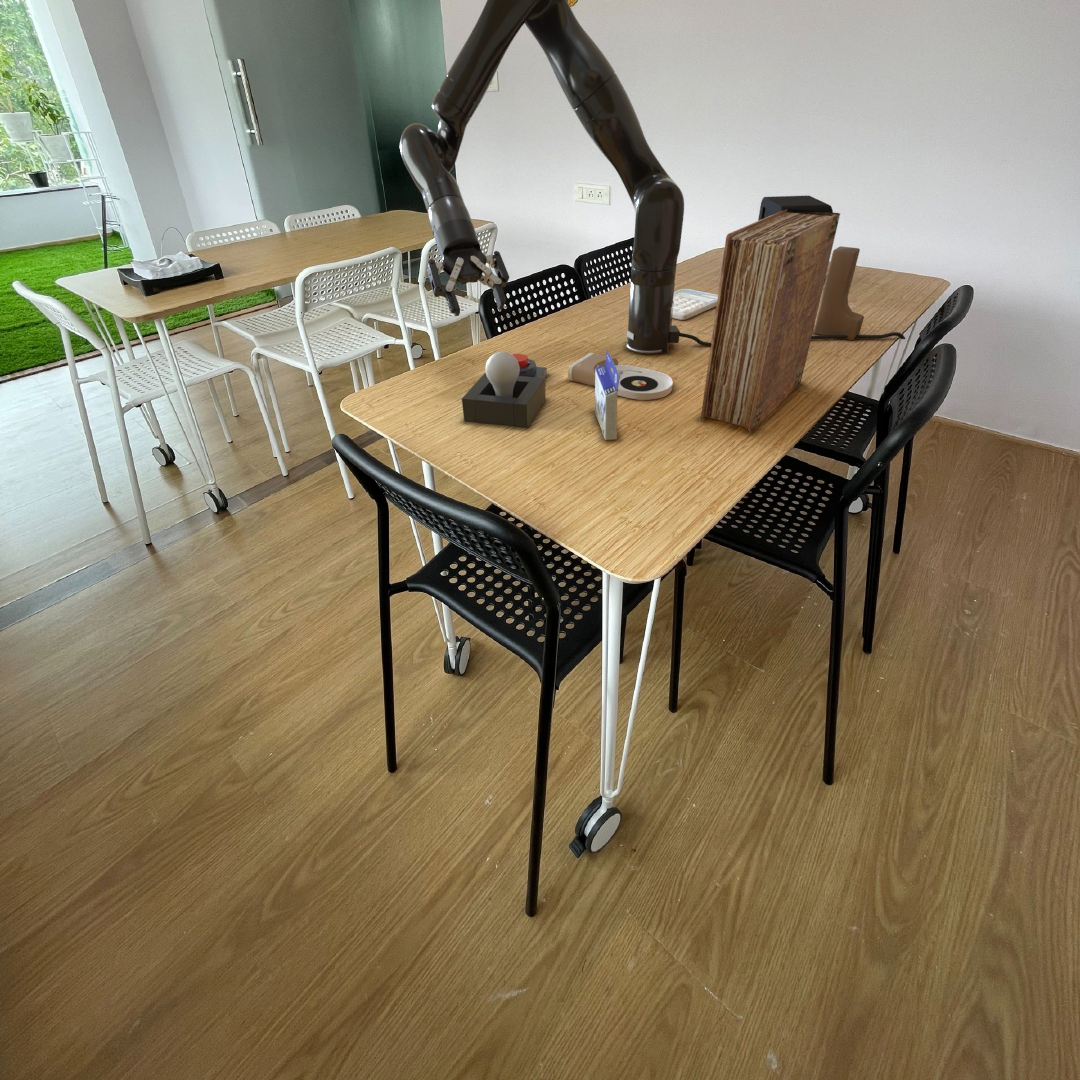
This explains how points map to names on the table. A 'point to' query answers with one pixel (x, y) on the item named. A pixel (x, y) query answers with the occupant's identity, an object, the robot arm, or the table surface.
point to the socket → (504, 403)
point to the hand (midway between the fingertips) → (480, 310)
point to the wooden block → (839, 297)
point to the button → (521, 360)
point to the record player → (623, 378)
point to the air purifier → (791, 205)
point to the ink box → (607, 398)
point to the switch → (533, 370)
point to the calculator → (692, 303)
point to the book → (766, 313)
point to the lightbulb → (502, 373)
